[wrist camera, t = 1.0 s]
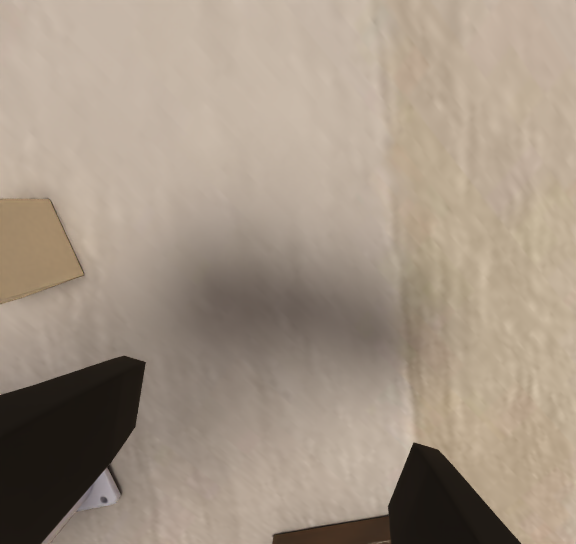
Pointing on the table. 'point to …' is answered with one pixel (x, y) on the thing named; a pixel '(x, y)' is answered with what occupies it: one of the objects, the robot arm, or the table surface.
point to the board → (341, 534)
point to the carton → (32, 249)
